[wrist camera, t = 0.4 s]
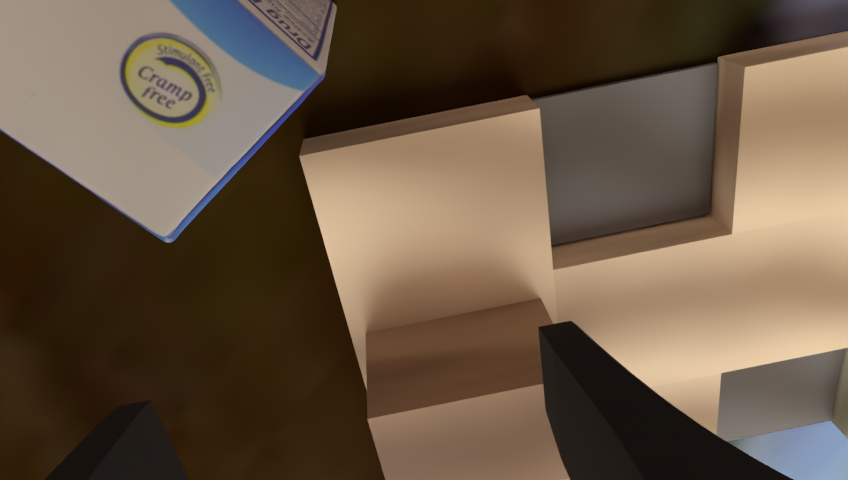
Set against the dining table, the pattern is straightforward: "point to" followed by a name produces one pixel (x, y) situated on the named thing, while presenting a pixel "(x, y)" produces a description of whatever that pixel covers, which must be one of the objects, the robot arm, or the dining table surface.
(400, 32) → the dining table surface
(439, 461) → the walnut block
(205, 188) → the medicine box
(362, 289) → the trap track
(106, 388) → the dining table surface
